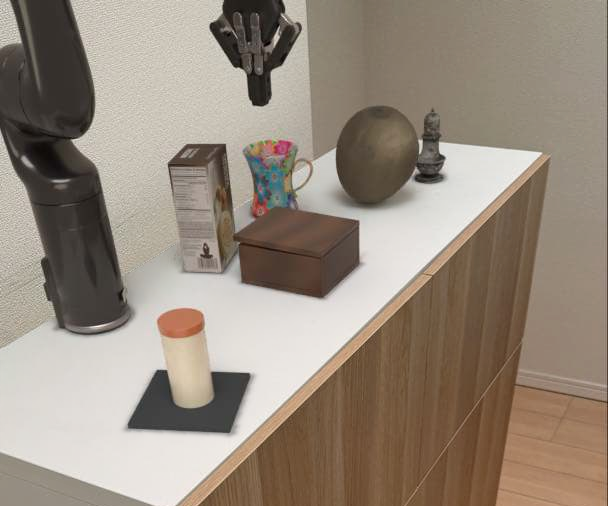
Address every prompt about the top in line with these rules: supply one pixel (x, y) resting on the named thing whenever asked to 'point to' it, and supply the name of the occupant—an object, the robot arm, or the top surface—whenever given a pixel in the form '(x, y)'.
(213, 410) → the mat
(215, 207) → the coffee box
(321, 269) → the chest
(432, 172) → the salt shaker
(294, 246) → the lid
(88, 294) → the robot arm
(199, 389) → the canister
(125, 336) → the top surface
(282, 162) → the mug
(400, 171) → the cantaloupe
